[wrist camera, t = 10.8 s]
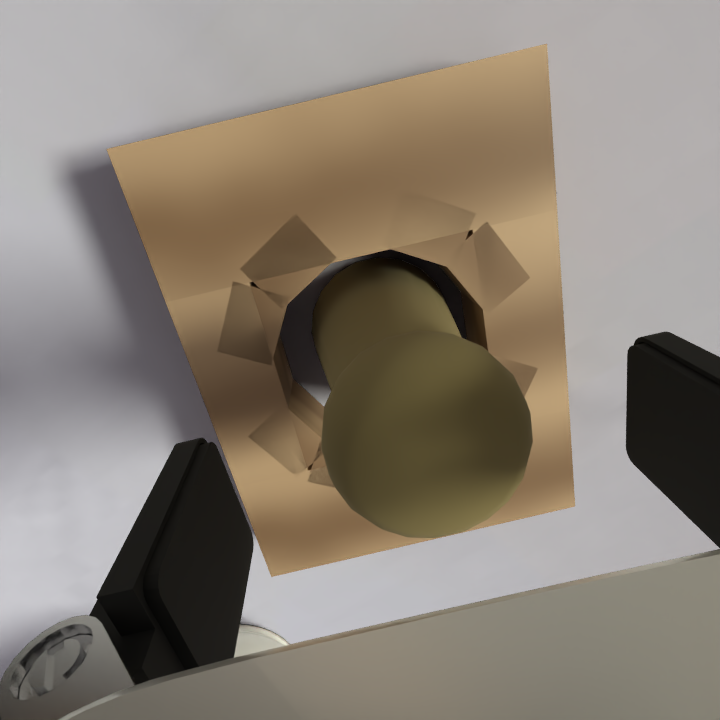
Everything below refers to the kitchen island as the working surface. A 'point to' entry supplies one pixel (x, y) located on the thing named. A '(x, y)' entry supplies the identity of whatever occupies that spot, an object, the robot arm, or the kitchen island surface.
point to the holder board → (349, 240)
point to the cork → (414, 405)
